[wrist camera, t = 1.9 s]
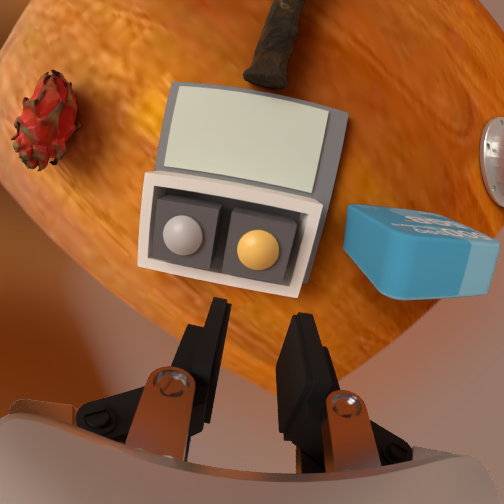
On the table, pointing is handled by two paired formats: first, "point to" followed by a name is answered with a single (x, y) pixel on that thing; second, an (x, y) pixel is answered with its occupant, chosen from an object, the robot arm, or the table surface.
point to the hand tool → (275, 45)
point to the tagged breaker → (258, 244)
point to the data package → (419, 253)
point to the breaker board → (245, 170)
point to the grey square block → (186, 230)
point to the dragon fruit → (46, 122)
